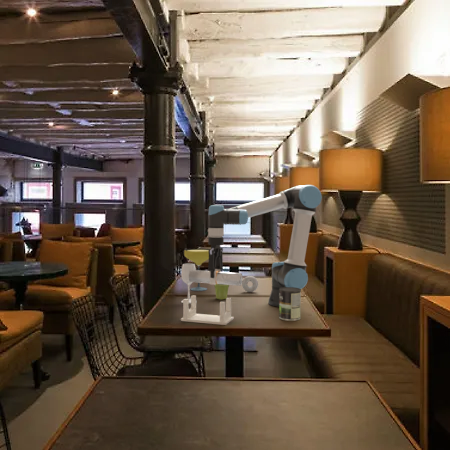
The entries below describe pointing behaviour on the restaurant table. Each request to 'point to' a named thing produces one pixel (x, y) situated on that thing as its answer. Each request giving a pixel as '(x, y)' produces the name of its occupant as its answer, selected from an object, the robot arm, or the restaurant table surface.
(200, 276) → the air tube
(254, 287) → the donut
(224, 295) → the plant pot
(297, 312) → the coffee can
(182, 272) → the wineglass
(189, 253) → the cocktail glass
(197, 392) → the restaurant table surface
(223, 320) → the collar stand
